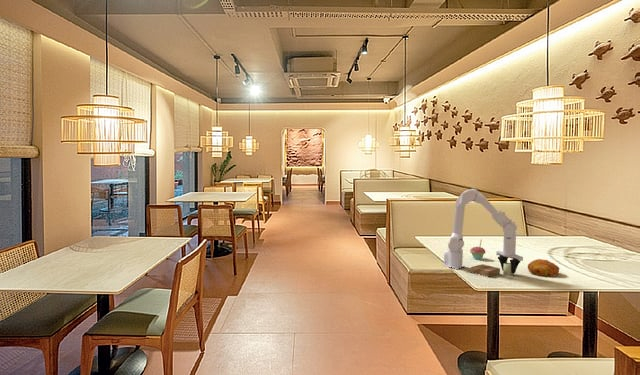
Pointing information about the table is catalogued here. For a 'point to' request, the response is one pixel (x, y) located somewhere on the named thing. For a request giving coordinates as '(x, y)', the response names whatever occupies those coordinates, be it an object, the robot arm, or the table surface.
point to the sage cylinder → (507, 269)
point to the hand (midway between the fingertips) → (508, 271)
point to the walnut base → (485, 270)
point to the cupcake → (477, 251)
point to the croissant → (543, 268)
